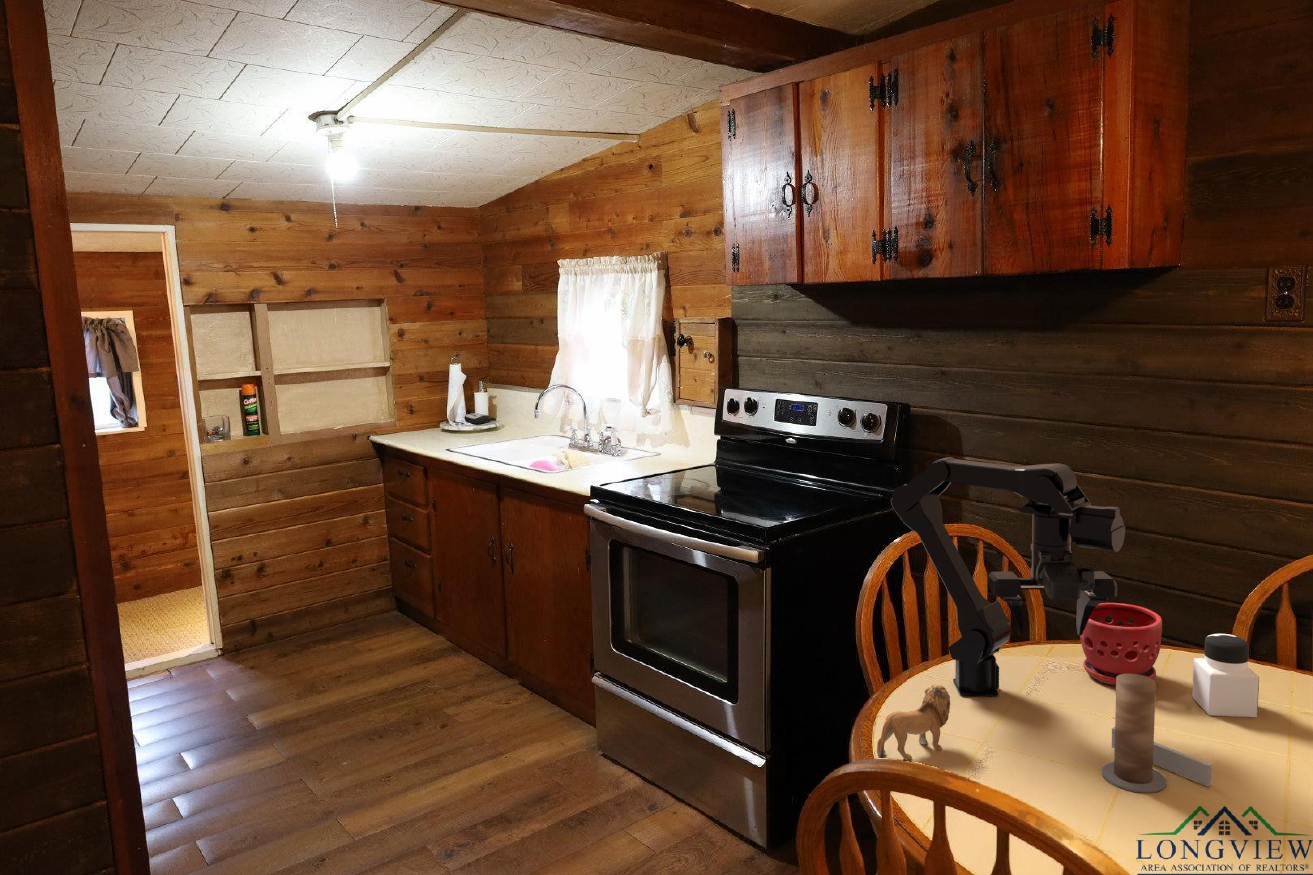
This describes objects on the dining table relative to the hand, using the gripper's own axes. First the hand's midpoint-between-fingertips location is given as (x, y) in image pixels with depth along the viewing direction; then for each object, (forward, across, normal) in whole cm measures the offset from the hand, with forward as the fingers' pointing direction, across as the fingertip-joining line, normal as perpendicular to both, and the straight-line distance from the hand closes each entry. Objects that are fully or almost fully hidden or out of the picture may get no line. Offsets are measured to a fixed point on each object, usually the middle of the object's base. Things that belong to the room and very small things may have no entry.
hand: (1049, 634), depth 145 cm
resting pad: (+13, +5, -22) cm, 26 cm away
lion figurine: (+13, -24, -15) cm, 31 cm away
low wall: (+13, +10, -18) cm, 24 cm away
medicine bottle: (+13, +28, +2) cm, 31 cm away
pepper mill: (+13, +5, -22) cm, 26 cm away
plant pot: (+13, +16, +14) cm, 25 cm away
